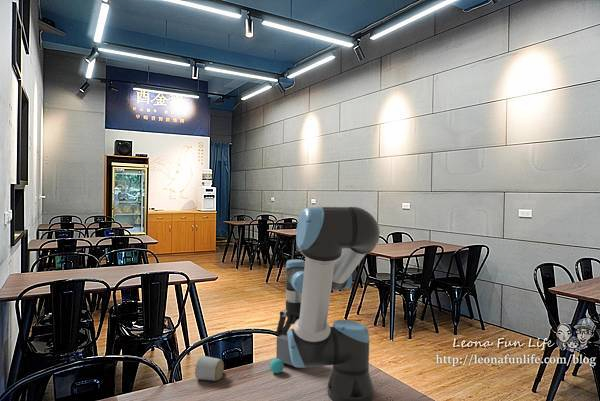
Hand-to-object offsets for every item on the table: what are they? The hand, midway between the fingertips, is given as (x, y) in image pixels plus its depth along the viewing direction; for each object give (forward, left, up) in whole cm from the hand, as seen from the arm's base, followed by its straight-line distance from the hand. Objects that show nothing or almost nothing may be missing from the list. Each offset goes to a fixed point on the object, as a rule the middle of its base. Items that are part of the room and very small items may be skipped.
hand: (295, 357), depth 154 cm
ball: (0, +11, 0) cm, 11 cm away
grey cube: (0, 0, -1) cm, 1 cm away
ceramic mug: (+16, +28, -3) cm, 32 cm away
